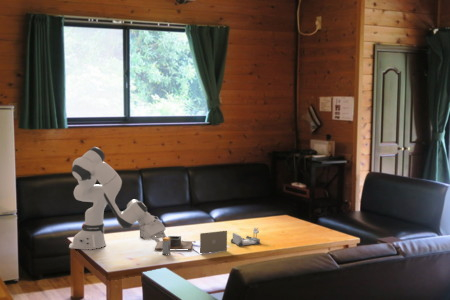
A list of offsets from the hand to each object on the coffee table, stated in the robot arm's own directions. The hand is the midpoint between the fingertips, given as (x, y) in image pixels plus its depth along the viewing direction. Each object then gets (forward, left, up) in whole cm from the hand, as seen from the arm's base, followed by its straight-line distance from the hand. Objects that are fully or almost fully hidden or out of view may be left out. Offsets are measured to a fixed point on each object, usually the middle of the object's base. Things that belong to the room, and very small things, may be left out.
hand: (161, 240), depth 364 cm
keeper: (+6, +17, -9) cm, 20 cm away
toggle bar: (+3, 0, -9) cm, 9 cm away
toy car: (+52, +28, -9) cm, 60 cm away
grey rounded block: (-12, +45, -9) cm, 47 cm away
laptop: (+28, +10, -9) cm, 31 cm away
